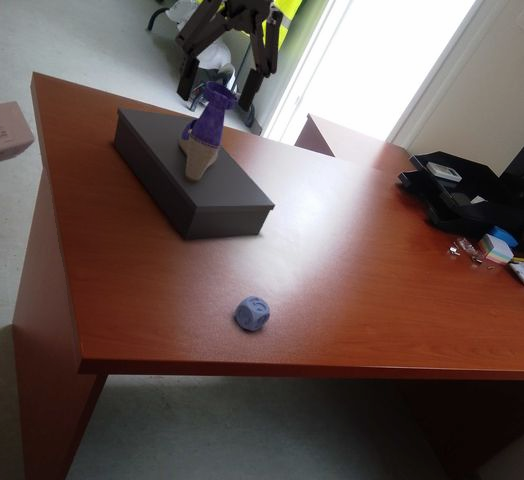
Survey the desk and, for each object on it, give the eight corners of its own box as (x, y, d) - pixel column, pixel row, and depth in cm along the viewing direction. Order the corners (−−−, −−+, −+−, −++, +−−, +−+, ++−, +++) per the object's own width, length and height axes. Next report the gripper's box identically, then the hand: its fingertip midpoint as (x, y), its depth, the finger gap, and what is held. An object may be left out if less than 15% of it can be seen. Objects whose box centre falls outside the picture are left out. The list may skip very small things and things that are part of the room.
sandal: (221, 148, 95) (249, 74, 85) (204, 190, 81) (234, 107, 71) (184, 131, 94) (208, 53, 84) (160, 170, 79) (185, 83, 69)
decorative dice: (248, 310, 76) (258, 293, 74) (263, 327, 75) (274, 310, 73) (231, 316, 74) (241, 299, 71) (247, 333, 73) (257, 316, 70)
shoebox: (111, 143, 93) (117, 107, 88) (187, 149, 105) (196, 118, 100) (184, 241, 82) (197, 206, 77) (260, 235, 94) (275, 205, 89)
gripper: (207, -61, 58) (163, 104, 72) (330, -3, 74) (275, 122, 88) (179, -84, 61) (141, 79, 75) (303, -23, 77) (254, 101, 91)
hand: (214, 103), depth 81 cm, fingers open, 13 cm apart
